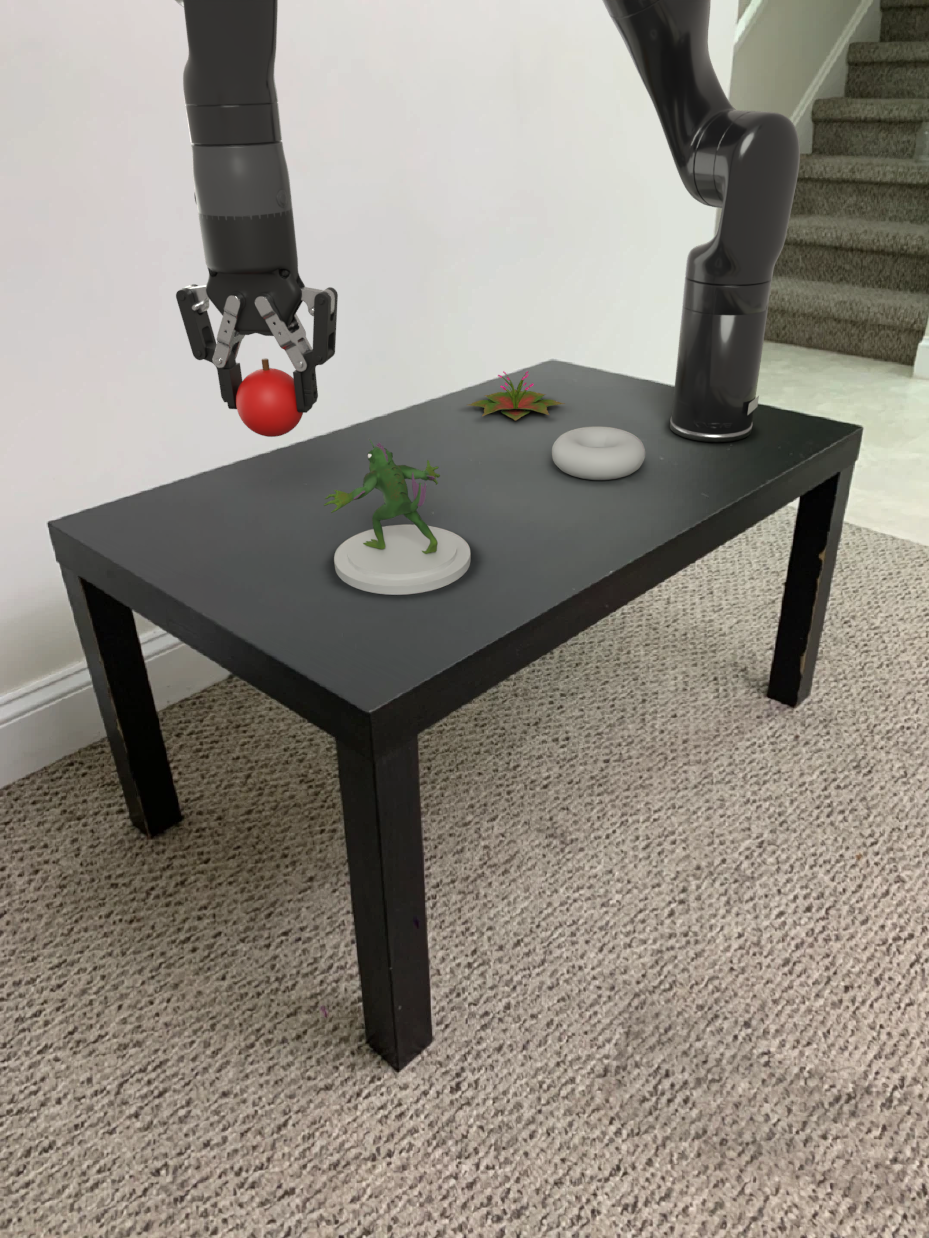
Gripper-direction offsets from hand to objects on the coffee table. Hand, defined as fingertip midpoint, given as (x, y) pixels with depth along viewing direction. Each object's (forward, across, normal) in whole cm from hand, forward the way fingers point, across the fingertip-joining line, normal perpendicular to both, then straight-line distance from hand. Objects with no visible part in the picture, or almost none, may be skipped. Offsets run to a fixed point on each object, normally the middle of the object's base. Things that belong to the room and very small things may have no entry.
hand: (270, 407), depth 84 cm
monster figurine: (+12, -13, +5) cm, 19 cm away
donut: (+12, -28, -20) cm, 36 cm away
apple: (+3, 0, 0) cm, 3 cm away
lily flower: (+12, -16, -38) cm, 43 cm away
